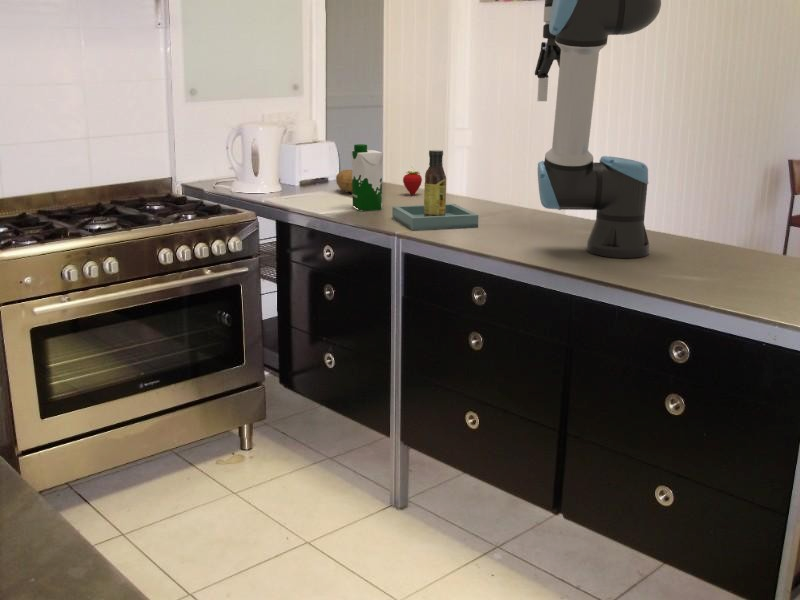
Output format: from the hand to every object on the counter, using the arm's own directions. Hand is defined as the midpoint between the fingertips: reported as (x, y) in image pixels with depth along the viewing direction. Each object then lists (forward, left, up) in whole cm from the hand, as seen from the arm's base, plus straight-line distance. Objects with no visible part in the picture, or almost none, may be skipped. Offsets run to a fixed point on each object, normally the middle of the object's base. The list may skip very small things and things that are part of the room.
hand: (552, 102), depth 245 cm
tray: (+8, +32, -34) cm, 48 cm away
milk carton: (+35, +45, -35) cm, 67 cm away
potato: (+68, +42, -35) cm, 87 cm away
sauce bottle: (+8, +32, -34) cm, 47 cm away
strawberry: (+57, +23, -35) cm, 70 cm away
